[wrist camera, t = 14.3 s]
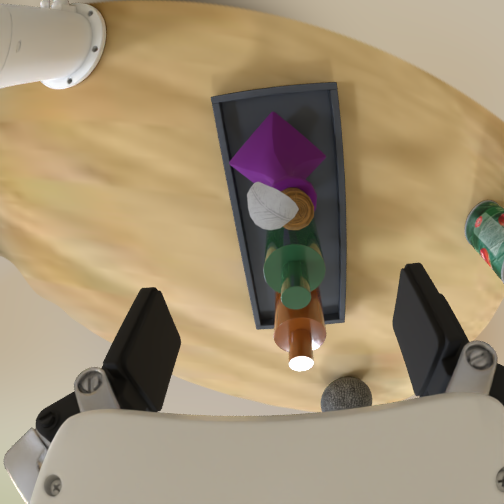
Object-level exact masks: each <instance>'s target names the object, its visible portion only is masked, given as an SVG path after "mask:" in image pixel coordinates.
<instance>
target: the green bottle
mask: <svg viewBox="0 0 504 504" xmlns="http://www.w3.org/2000/svg"><path fill="white" fill-rule="evenodd" d="M325 271H326V267H325V262H324V257H323V252H322V248H321V243H320V239H319V235H318V230H317V226H316V222H315V218H314V217H313V219H312V220H311V222H310V223H309V225H308V226H306V227H304V228H302V229H300V230H288V229H286V228H285V227H281V228H279V229H274V230H267V232H266V244H265V256H264V267H263V274H264V278H265V280H266V282H267V284H268V285H269V286H270V287H271V288H272V289H273V290H275V291H276V292H278V293H280V294H281V301H282V303H283V305H284V306H286V307H287V308H289V309H294V310H297V309H302V308H304V307H306V306H307V305H308V304H309V303H310V301H311V291H313V290H315V289H316V288H317V287H318V286H319V285H320V284H321V282H322V281H323V279H324V276H325Z"/></svg>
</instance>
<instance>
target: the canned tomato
mask: <svg viewBox="0 0 504 504" xmlns="http://www.w3.org/2000/svg"><path fill="white" fill-rule="evenodd" d="M465 236H466V239H467V241H468V242H469V243H470V244H471V245H472V246H473V247H474V249H475V250H476V251H477V252H478V253H479V254H480V255H481V257H482V258H483V259H484V260H485V261H486V262H487V263H488V264H489V266H490V267H491V268H492V269H493V270H494V272H495V273H496V274H497V276H498V277H499V278H500V279H501V280H502V281H503V283H504V208H502V207H501V206H499V205H498V204H497V203H496V202H494V201H492V200H486V201H482V202H480V203H479V204H477V205H476V206H475V207H474V208H473V209H472V211H471V212H470V214H469V216H468V218H467V220H466V224H465Z"/></svg>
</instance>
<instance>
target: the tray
mask: <svg viewBox="0 0 504 504" xmlns="http://www.w3.org/2000/svg"><path fill="white" fill-rule="evenodd" d="M211 101H212V106H213V111H214V117H215V122H216V127H217V133H218V138H219V143H220V148H221V154H222V159H223V164H224V169H225V175H226V180H227V185H228V190H229V195H230V200H231V205H232V210H233V216H234V221H235V226H236V231H237V236H238V241H239V246H240V251H241V256H242V261H243V266H244V271H245V276H246V281H247V285H248V290H249V295H250V300H251V305H252V310H253V315H254V320H255V324H256V329H274V315H275V290H273V289H272V288H271V287H270V286H269V285H268V284H267V282H266V280H265V278H264V274H263V267H264V256H265V244H266V232H267V229H262V228H261V227H259V226H258V225H256V224H255V223H254V221H253V220H252V218H251V217H250V214H249V210H248V200H247V194H248V192H249V190H250V188H251V187H252V185H253V184H254V183H253V182H252V181H250V180H249V179H248V178H247V177H245V176H244V175H243V174H241V173H240V172H239V171H237V170H236V169H235V168H233V167H232V166H231V165H230V164H229V162H230V160H231V159H232V158H233V157H234V155H235V154H236V153H237V152H238V151H239V149H240V148H241V147H242V146H243V145H244V143H245V142H246V141H247V140H248V139H249V137H250V136H251V135H252V134H253V133H254V132H255V130H256V129H257V128H258V127H259V126H260V125H261V123H262V122H263V121H264V120H265V119H266V118H267V116H268V115H269V114H270V113H271V112H275V113H277V114H278V115H279V116H280V117H282V118H283V119H284V120H285V121H287V122H288V123H289V124H290V125H291V126H293V127H294V128H295V129H296V130H297V131H299V132H300V133H301V134H302V135H303V136H304V137H306V138H307V139H308V140H309V141H310V142H311V143H312V144H314V145H315V146H316V147H317V148H318V149H319V150H320V151H322V152H323V153H324V154H325V155H326V158H325V159H324V160H323V161H322V162H321V164H320V165H319V166H318V167H317V168H316V169H315V170H314V171H313V172H312V173H311V174H310V175H309V176H308V177H307V178H306V179H305V180H307V181H309V182H310V183H311V184H312V186H313V187H314V189H315V191H316V193H317V205H316V210H315V211H314V218H315V222H316V226H317V230H318V235H319V239H320V243H321V248H322V252H323V257H324V262H325V267H326V271H325V276H324V279H323V281H322V282H321V284H320V285H319V287H320V293H321V299H322V306H323V313H324V320H325V324H334V323H343V322H345V300H346V252H347V242H346V194H345V173H344V156H343V142H342V130H341V119H340V109H339V100H338V91H337V83H336V82H329V83H313V84H300V85H289V86H279V87H271V88H263V89H256V90H249V91H242V92H236V93H230V94H224V95H219V96H213V97H211Z"/></svg>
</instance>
